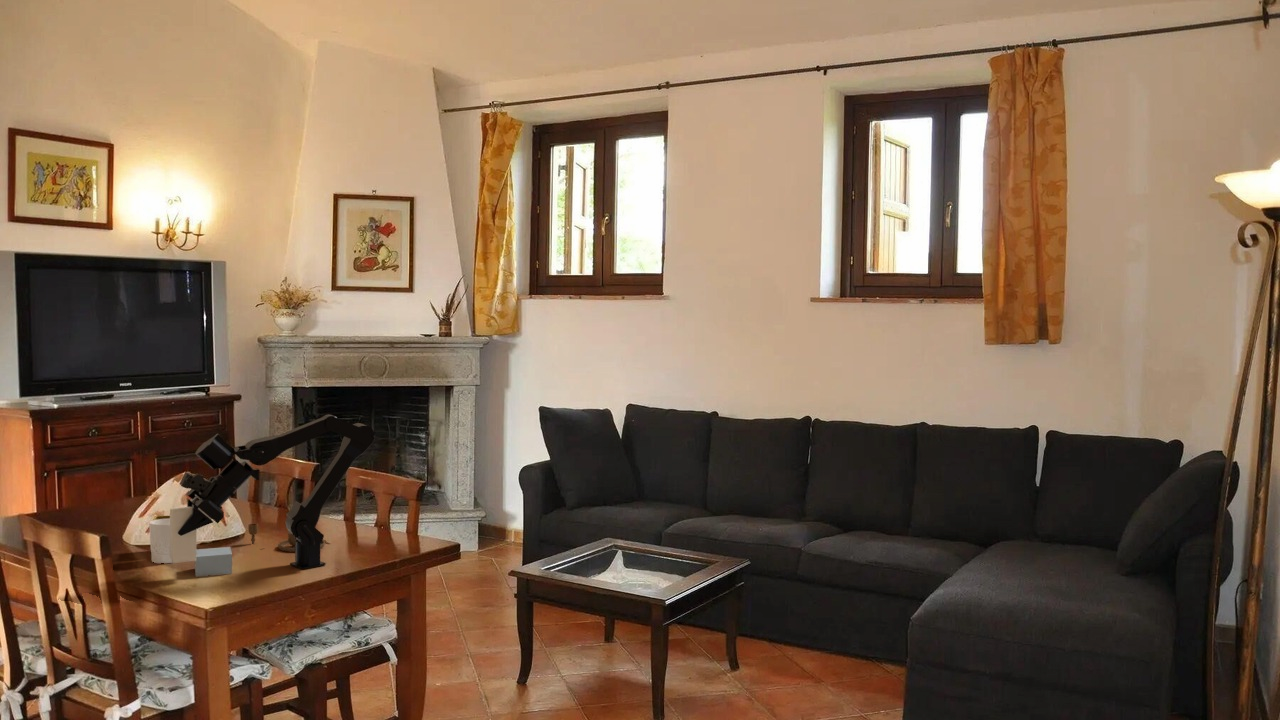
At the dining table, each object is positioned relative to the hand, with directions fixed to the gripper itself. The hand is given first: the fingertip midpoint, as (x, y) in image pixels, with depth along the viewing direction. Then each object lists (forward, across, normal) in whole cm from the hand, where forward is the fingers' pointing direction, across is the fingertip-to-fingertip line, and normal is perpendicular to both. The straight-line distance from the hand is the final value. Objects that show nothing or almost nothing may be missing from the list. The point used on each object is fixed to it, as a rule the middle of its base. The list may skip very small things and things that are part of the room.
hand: (177, 532), depth 232 cm
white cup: (+8, -21, +8) cm, 24 cm away
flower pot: (+6, -30, +10) cm, 32 cm away
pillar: (+4, 0, +6) cm, 7 cm away
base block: (+2, -4, +14) cm, 15 cm away
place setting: (-14, -24, +31) cm, 42 cm away
